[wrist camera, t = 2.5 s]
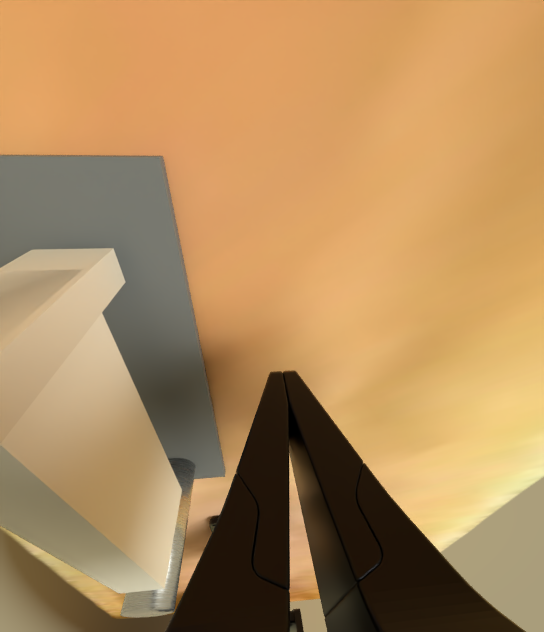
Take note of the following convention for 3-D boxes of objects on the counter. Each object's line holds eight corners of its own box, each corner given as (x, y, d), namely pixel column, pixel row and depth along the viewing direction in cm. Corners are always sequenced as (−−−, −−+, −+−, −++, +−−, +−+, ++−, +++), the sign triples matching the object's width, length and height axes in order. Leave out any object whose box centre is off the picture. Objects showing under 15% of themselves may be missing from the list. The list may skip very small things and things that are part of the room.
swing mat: (225, 470, 19) (225, 476, 19) (24, 486, 18) (20, 492, 18) (162, 156, 8) (159, 157, 7) (-397, 152, 7) (-429, 153, 6)
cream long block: (190, 463, 16) (168, 591, 12) (150, 466, 16) (113, 597, 12) (113, 248, 8) (-50, 398, 4) (31, 249, 8) (-243, 408, 4)
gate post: (199, 467, 19) (178, 613, 13) (164, 469, 19) (129, 619, 13) (193, 450, 17) (168, 605, 12) (156, 453, 17) (112, 612, 12)
